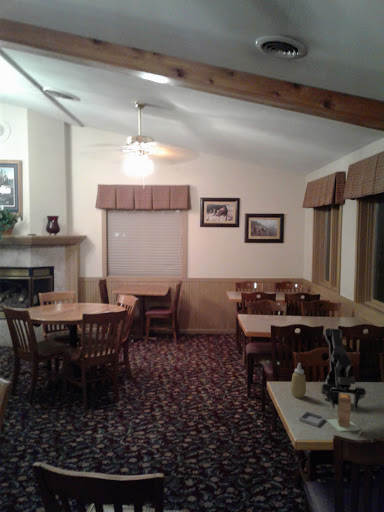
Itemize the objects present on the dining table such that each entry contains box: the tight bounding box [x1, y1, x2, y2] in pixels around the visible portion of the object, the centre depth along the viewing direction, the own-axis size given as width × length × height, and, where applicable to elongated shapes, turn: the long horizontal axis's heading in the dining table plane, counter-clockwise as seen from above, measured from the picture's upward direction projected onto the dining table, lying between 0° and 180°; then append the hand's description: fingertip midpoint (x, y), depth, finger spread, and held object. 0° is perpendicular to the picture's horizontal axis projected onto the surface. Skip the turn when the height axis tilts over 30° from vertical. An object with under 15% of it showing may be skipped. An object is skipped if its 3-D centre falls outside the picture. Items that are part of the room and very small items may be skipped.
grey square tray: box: [298, 410, 325, 428], centre depth 179 cm, size 9×9×2 cm
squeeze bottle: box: [290, 362, 307, 399], centre depth 206 cm, size 8×8×18 cm
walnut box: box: [336, 393, 352, 427], centre depth 174 cm, size 4×4×13 cm
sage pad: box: [326, 418, 361, 433], centre depth 175 cm, size 10×10×1 cm
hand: (344, 409), depth 173 cm, fingers open, 9 cm apart
